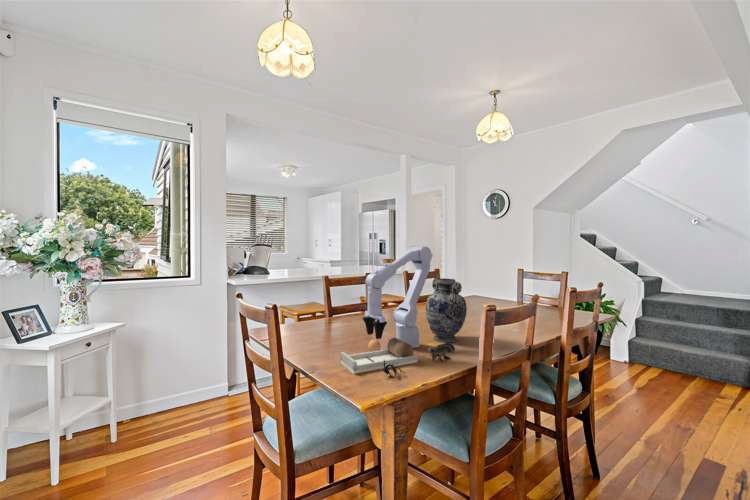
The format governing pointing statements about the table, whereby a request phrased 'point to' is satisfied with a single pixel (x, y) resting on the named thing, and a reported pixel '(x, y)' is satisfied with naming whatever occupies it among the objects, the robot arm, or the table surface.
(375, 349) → the ball
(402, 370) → the creature
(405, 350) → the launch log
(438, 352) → the withered leafy plant
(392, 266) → the robot arm
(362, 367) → the lane
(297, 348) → the table surface
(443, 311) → the decorative vase
